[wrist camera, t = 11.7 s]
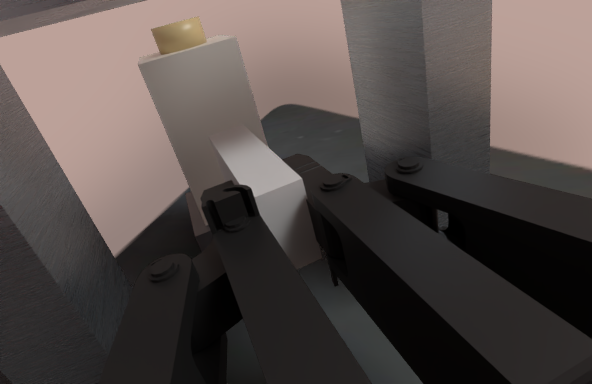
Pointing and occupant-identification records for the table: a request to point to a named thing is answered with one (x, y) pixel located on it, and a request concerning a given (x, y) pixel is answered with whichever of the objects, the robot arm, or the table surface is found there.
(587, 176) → the table surface
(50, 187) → the grey metal arch
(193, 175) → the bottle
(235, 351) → the table surface
